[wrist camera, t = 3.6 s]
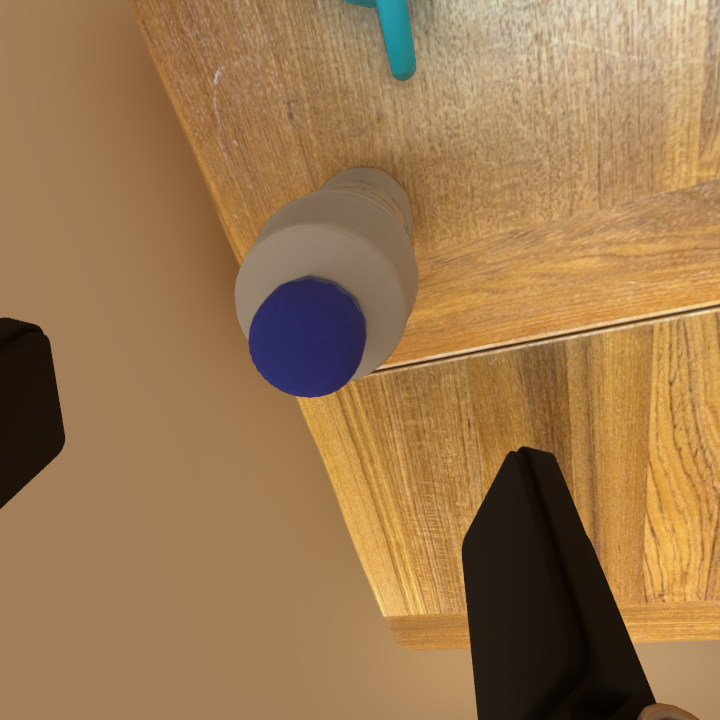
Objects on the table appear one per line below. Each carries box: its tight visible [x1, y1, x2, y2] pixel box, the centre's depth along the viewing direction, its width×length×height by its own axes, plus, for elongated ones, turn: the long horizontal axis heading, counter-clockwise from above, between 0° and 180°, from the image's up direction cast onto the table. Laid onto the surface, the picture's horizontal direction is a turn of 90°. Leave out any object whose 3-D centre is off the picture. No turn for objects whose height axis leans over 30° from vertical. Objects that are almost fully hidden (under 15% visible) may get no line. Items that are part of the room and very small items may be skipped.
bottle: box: [235, 167, 418, 398], centre depth 20 cm, size 7×7×20 cm
